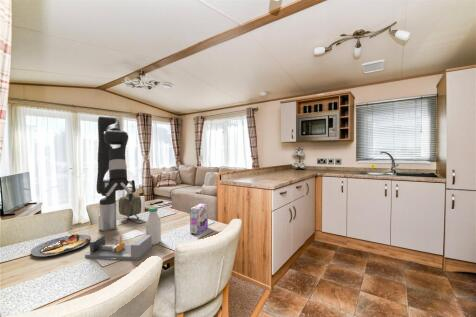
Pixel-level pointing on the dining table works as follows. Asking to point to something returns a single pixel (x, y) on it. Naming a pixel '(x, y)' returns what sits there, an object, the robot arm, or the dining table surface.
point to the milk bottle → (153, 226)
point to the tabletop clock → (130, 205)
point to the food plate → (61, 245)
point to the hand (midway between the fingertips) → (119, 203)
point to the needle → (120, 245)
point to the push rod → (101, 245)
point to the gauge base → (126, 250)
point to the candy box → (198, 218)
